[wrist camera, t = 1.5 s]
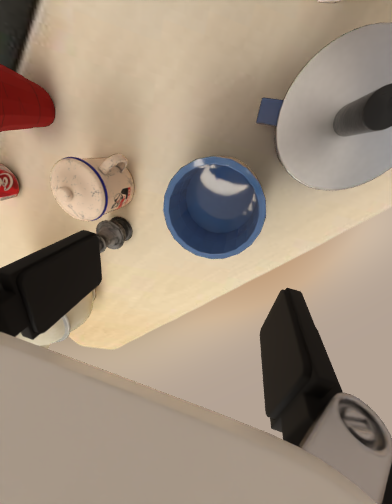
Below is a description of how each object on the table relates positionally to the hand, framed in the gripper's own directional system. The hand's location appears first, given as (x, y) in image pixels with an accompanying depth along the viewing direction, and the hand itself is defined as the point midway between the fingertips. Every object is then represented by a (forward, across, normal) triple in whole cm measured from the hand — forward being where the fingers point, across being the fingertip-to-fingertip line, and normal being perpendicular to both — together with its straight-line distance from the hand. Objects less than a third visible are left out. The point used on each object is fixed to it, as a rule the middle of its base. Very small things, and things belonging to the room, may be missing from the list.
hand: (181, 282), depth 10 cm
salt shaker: (+26, +20, +12) cm, 34 cm away
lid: (+20, -11, -11) cm, 25 cm away
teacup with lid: (+26, +20, +2) cm, 33 cm away
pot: (+26, +1, +1) cm, 26 cm away
